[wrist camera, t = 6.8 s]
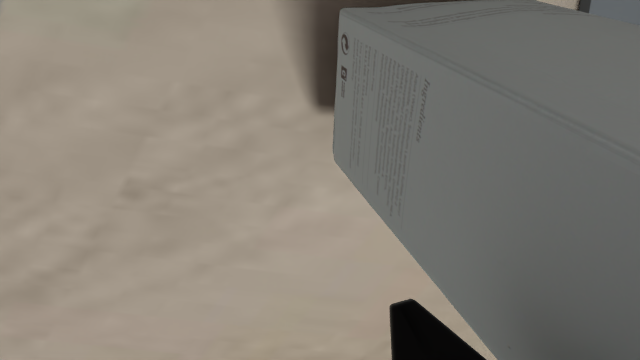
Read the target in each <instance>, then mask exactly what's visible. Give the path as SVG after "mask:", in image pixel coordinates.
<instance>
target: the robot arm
mask: <svg viewBox="0 0 640 360" xmlns="http://www.w3.org/2000/svg"><path fill="white" fill-rule="evenodd" d="M390 329H391V350H392V360H486V359H485V358H484V357H483V356H481V355H480V354H479V353H478V352H477V351H475V350H474V349H473V348H472V347H471V346H469V345H468V344H467V343H466V342H465V341H463V340H462V339H461V338H460V337H459V336H457V335H456V334H455V333H454V332H453V331H451V330H450V329H449V328H448V327H447V326H445V325H444V324H443V323H442V322H441V321H439V320H438V319H437V318H436V317H435V316H433V315H432V314H431V313H430V312H429V311H427V310H426V309H425V308H424V307H423V306H421V305H420V304H419V303H418V302H416V301H415V300H413V299H408V300H404V301H401V302H397V303H394V304H391V305H390Z"/></svg>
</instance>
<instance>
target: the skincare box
mask: <svg viewBox="0 0 640 360" xmlns="http://www.w3.org/2000/svg"><path fill="white" fill-rule="evenodd" d="M334 108H335V112H334V131H333V154H334V160H335V162H336V164H337V165H338V166H339V167H340V168H341V170H342V171H343V172H344V173H345V174H346V176H347V177H348V178H349V179H350V181H351V182H352V183H353V184H354V186H355V187H356V188H357V189H358V191H359V192H360V193H361V194H362V195H363V197H364V198H365V199H366V200H367V202H368V203H369V204H370V205H371V207H372V208H373V209H374V210H375V211H376V213H377V214H378V215H379V216H380V217H381V219H382V220H383V221H384V222H385V223H386V225H387V226H388V227H389V228H390V229H391V231H392V232H393V233H394V234H395V236H396V237H397V238H398V239H399V241H400V242H401V243H402V244H403V245H404V247H405V248H406V249H407V250H408V252H409V253H410V254H411V255H412V256H413V258H414V259H415V260H416V261H417V263H418V264H419V265H420V266H421V267H422V269H423V270H424V271H425V272H426V274H427V275H428V276H429V277H430V278H431V280H432V281H433V282H434V283H435V284H436V285H437V286H438V288H439V289H440V290H441V291H442V293H443V294H444V295H445V296H446V298H447V299H448V300H449V301H450V303H451V304H452V305H453V306H454V308H455V309H456V310H457V311H458V312H459V314H460V315H461V316H462V317H463V319H464V320H465V321H466V322H467V323H468V325H469V326H470V327H471V328H472V329H473V331H474V332H475V333H476V334H477V336H478V337H479V338H480V339H481V340H482V342H483V343H484V344H485V345H486V346H487V347H488V349H489V350H490V351H491V352H492V353H493V355H494V356H495V357H496V358H497V359H498V360H640V25H636V24H631V23H627V22H623V21H619V20H614V19H610V18H606V17H601V16H597V15H593V14H589V13H585V12H581V11H577V10H573V9H568V8H564V7H560V6H556V5H552V4H548V3H543V2H539V1H536V0H472V1H453V2H432V3H413V4H403V5H394V6H387V7H375V8H342V9H341V10H340V14H339V29H338V59H337V77H336V95H335V106H334Z"/></svg>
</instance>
